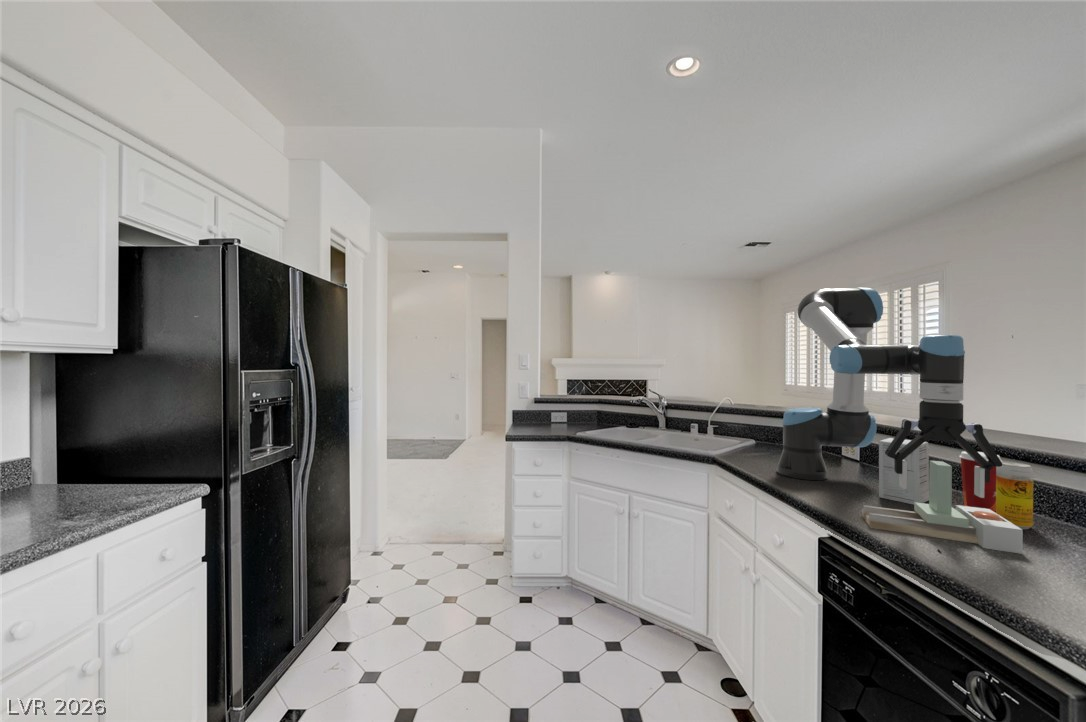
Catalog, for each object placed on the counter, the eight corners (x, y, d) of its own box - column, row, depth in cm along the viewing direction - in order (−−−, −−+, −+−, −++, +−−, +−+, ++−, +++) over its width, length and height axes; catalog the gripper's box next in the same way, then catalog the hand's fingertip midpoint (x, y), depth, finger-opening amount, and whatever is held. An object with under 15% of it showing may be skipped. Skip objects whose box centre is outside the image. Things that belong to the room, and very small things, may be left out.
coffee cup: (1011, 515, 111) (1011, 457, 111) (974, 512, 112) (974, 456, 112) (985, 504, 119) (985, 451, 119) (950, 502, 121) (950, 449, 121)
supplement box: (930, 500, 122) (930, 442, 122) (919, 506, 117) (920, 445, 117) (889, 491, 130) (889, 437, 130) (877, 497, 125) (878, 440, 125)
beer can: (1006, 528, 102) (1006, 465, 102) (989, 519, 108) (990, 460, 108) (1039, 531, 100) (1040, 468, 100) (1021, 522, 106) (1022, 462, 106)
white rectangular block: (955, 525, 104) (955, 505, 104) (989, 530, 101) (989, 509, 101) (983, 548, 91) (983, 524, 91) (1022, 553, 88) (1022, 529, 88)
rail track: (862, 515, 110) (862, 504, 110) (960, 529, 101) (960, 516, 101) (870, 527, 102) (870, 515, 102) (977, 543, 93) (977, 529, 93)
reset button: (970, 527, 99) (970, 509, 99) (994, 530, 97) (994, 512, 97) (978, 533, 95) (978, 515, 95) (1003, 536, 93) (1003, 518, 93)
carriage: (914, 510, 105) (914, 457, 105) (951, 515, 102) (952, 460, 102) (927, 522, 97) (927, 465, 97) (968, 528, 94) (969, 469, 94)
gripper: (878, 399, 102) (877, 488, 102) (1024, 405, 91) (1023, 504, 91) (870, 397, 108) (870, 480, 108) (1005, 402, 97) (1004, 494, 97)
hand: (939, 491), depth 100 cm, fingers open, 13 cm apart
